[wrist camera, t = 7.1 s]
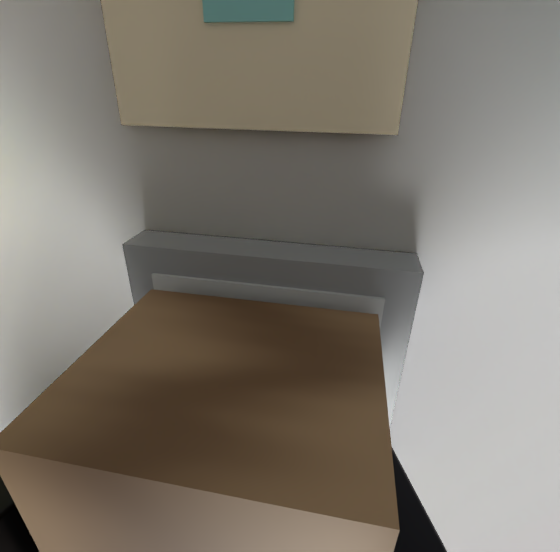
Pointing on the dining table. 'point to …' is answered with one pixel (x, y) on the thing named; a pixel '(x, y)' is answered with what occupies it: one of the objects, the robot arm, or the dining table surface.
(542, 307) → the dining table surface
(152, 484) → the walnut brick
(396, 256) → the build plate
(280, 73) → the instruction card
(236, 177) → the dining table surface
